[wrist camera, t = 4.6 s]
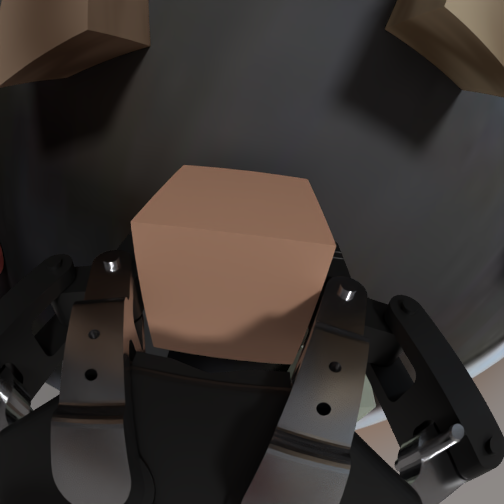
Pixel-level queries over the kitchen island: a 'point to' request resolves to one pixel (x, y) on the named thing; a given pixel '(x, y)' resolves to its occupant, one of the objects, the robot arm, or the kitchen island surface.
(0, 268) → the flower pot
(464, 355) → the kitchen island surface
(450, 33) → the oak cube
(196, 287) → the terracotta cube
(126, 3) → the walnut cube
